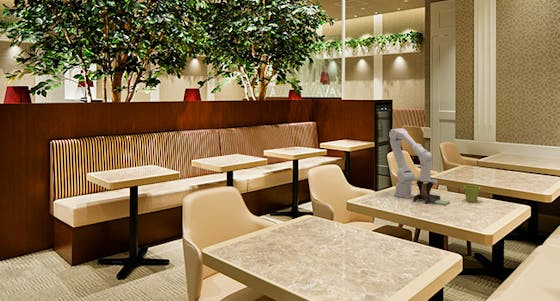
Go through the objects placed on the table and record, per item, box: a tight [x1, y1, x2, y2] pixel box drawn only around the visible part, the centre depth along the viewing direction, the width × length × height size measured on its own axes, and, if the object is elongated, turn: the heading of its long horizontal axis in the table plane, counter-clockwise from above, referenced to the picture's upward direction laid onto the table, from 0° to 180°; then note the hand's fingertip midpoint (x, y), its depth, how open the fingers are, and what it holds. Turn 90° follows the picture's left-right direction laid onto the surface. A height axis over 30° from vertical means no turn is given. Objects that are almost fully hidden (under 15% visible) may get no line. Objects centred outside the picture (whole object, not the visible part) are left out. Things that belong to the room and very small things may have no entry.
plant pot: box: [463, 185, 481, 203], centre depth 260 cm, size 9×9×9 cm
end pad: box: [434, 199, 451, 206], centre depth 255 cm, size 7×7×1 cm
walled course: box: [412, 193, 441, 205], centre depth 260 cm, size 12×11×4 cm
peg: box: [421, 182, 428, 198], centre depth 261 cm, size 4×4×8 cm
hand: (424, 193), depth 262 cm, fingers closed on peg, 4 cm apart
